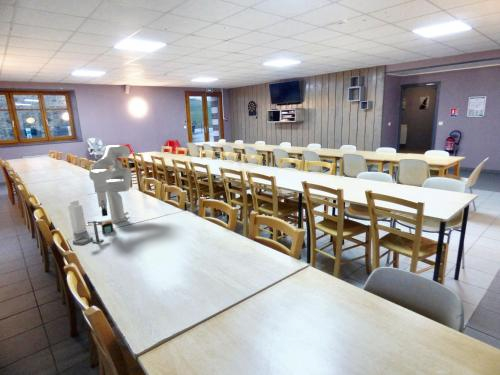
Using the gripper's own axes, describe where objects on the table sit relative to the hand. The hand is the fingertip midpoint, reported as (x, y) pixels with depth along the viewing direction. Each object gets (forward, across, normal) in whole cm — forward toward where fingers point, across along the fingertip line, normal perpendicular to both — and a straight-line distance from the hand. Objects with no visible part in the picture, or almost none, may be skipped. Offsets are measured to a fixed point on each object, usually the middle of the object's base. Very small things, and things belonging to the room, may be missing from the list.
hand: (104, 214), depth 206 cm
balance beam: (+2, +17, -6) cm, 19 cm away
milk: (+13, -12, -17) cm, 24 cm away
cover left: (+13, -1, 0) cm, 13 cm away
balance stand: (+13, +17, -6) cm, 22 cm away
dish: (+13, +11, -14) cm, 22 cm away
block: (+13, -1, 0) cm, 13 cm away
